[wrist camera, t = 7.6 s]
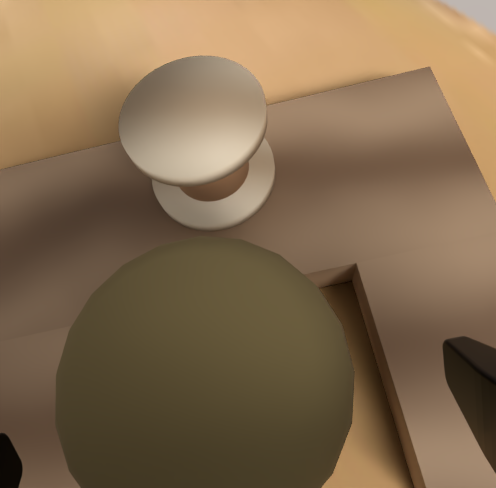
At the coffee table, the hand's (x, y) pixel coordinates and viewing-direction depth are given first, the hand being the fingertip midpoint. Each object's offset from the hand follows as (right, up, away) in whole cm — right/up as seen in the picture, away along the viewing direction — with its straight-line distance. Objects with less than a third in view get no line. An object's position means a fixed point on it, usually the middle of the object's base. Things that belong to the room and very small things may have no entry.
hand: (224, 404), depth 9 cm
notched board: (0, +1, +9) cm, 9 cm away
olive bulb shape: (+1, -3, +8) cm, 8 cm away
